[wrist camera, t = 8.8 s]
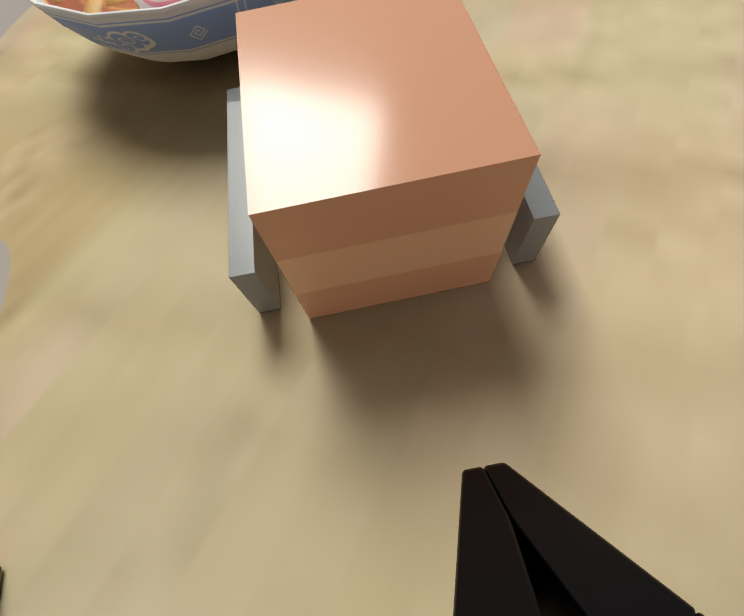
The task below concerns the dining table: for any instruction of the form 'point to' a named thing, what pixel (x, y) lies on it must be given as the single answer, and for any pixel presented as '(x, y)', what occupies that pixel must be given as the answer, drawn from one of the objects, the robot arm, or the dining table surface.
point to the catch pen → (260, 270)
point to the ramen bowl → (156, 25)
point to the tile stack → (377, 148)
